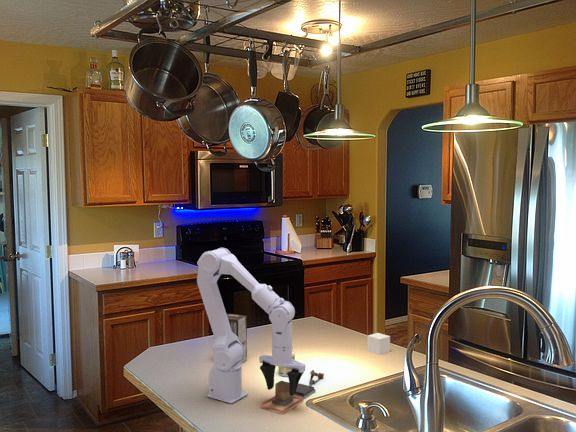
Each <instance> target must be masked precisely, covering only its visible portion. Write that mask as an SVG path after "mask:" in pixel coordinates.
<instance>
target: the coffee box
mask: <svg viewBox="0 0 576 432" xmlns="http://www.w3.org/2000/svg"><path fill="white" fill-rule="evenodd" d="M226 314H227V317H228V320H229V324H230V327H231V330H232V332H233V333H234V334H235V335H237V336H238V339H239V341H240V343H241V344H242V345H243V346H244V349H245V355H244V357H243V359H242V360H241V364H243V363H245V362H246V361H248V332H247V331H248V329H247V328H248V326H247V325H248V322H247V321H248V320H247V318H248V316H247V315H242V314H235V313H226Z"/></svg>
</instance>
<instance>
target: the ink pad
mask: <svg viewBox="0 0 576 432" xmlns="http://www.w3.org/2000/svg"><path fill="white" fill-rule="evenodd" d="M315 393H316V389H315V387H314V386H312V385H309V384H308V385H307V384H303V383H300V382H299V383H298V386H297V390H296V394H294V395H293V396H296V397H300V398H302V399H303V400H305V399H307V398H308V397H310V396H311V395H313V394H315Z"/></svg>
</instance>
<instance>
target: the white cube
mask: <svg viewBox="0 0 576 432" xmlns="http://www.w3.org/2000/svg"><path fill="white" fill-rule="evenodd" d="M366 338H367V340H366V341H367V342H366V343H367V344H366V345H367V347H366V348H367V349H366V350H367V352H369V353H373V354H376V355H379V356H380V355H384V354H387V353H390V352H391V335H387V334H383V333H380V332H376V333H375V332H374V333H371V334H369V335H367V337H366Z"/></svg>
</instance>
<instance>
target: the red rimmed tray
mask: <svg viewBox="0 0 576 432" xmlns="http://www.w3.org/2000/svg"><path fill="white" fill-rule="evenodd" d="M274 397H275V395H274V396H272V397H271V398H269V399H267V400H265V401H264V402H262V403H260V404H259V409H262V410H266V411H269V412H272V413H276V414H281V415H285V414H286V413H288V412H289V411H291V410H292V409H293V408H295V407H297V406H298V405H300V404H301V403H303V402H304V399H302V398H300V397H296V396H290V397H293V402H291V403H290V404H288V405H287V406H285V407H284V406H281V405H277V404H273V403H272V399H273V398H274Z"/></svg>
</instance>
